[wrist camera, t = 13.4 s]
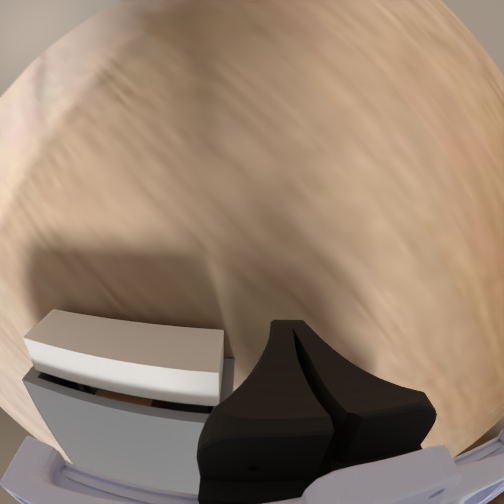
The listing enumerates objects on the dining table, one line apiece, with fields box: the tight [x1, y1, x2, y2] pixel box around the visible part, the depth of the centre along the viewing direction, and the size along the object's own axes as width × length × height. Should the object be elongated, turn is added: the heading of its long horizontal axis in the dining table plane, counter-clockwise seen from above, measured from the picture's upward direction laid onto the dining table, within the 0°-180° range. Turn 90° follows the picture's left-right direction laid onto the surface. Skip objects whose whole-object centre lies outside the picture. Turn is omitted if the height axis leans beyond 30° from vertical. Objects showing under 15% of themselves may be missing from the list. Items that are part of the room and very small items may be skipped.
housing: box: [22, 358, 234, 494], centre depth 21 cm, size 16×16×7 cm
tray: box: [23, 309, 224, 414], centre depth 19 cm, size 14×14×5 cm
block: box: [95, 388, 167, 409], centre depth 19 cm, size 4×4×4 cm
